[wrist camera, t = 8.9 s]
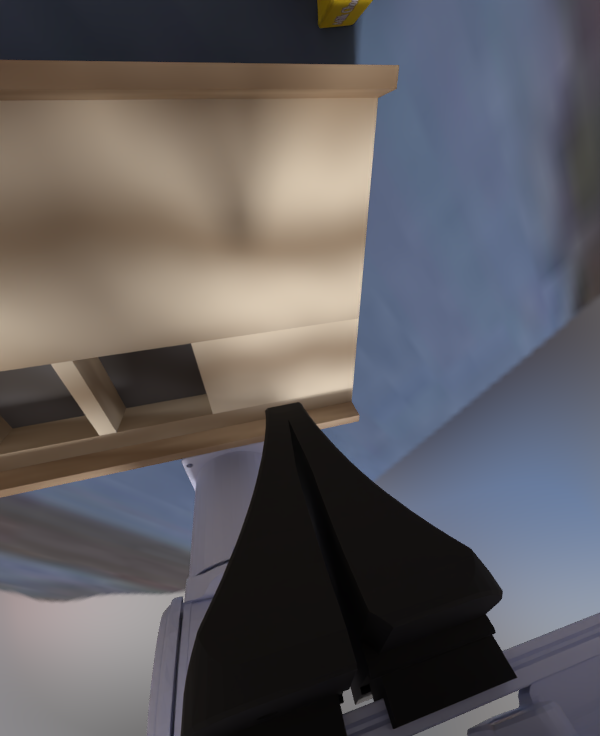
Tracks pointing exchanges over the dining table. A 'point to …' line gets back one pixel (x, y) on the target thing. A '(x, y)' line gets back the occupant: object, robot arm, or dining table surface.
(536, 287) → the dining table surface
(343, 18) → the candy box
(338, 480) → the robot arm
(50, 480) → the box
